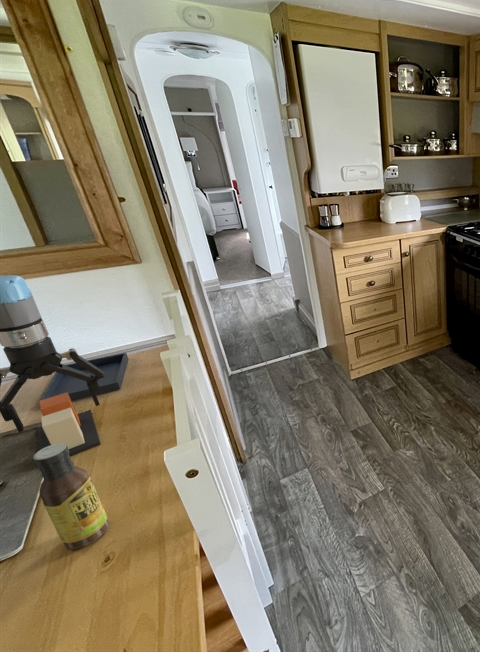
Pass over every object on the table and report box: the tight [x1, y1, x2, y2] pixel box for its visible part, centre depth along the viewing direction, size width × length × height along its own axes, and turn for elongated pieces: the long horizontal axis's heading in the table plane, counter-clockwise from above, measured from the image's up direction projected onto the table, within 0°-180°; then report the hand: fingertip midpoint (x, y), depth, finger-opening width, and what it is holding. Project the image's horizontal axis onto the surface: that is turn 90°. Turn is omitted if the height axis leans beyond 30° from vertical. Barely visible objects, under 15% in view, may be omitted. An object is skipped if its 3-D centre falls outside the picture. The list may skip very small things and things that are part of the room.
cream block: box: [40, 408, 85, 449], centre depth 90 cm, size 5×5×8 cm
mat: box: [36, 409, 102, 457], centre depth 94 cm, size 10×18×1 cm, turn 48°
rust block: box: [38, 392, 81, 426], centre depth 95 cm, size 5×5×8 cm
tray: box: [39, 352, 129, 402], centre depth 115 cm, size 21×16×3 cm
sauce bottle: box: [32, 443, 109, 550], centre depth 67 cm, size 6×6×20 cm
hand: (61, 415), depth 95 cm, fingers open, 13 cm apart
